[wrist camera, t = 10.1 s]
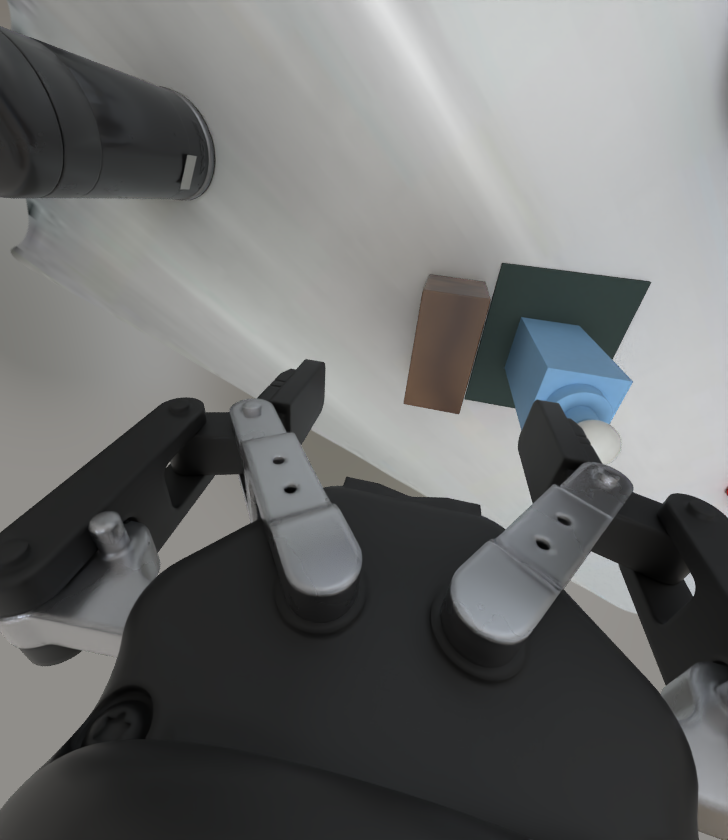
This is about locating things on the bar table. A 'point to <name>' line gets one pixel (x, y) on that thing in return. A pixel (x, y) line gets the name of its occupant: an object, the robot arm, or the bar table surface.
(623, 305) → the mat
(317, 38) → the bar table surface
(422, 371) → the block
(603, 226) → the bar table surface
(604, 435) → the bottle
